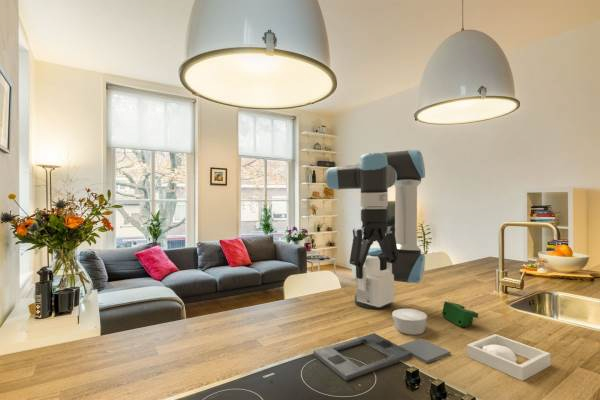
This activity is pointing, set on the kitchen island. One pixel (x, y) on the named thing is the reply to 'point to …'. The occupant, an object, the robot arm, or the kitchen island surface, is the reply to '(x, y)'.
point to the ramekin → (409, 321)
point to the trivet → (425, 350)
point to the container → (376, 282)
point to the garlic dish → (521, 372)
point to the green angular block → (458, 314)
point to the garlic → (501, 352)
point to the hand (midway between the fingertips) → (375, 287)
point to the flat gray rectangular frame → (350, 369)
